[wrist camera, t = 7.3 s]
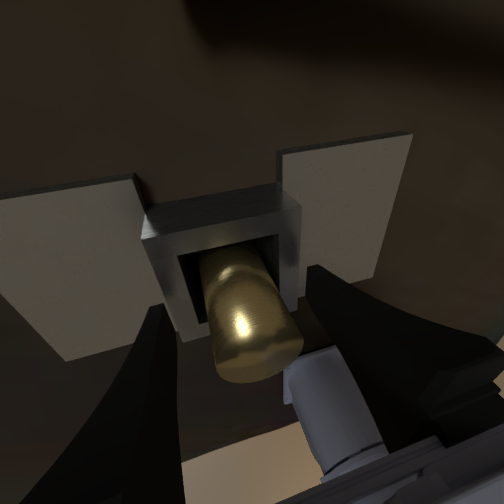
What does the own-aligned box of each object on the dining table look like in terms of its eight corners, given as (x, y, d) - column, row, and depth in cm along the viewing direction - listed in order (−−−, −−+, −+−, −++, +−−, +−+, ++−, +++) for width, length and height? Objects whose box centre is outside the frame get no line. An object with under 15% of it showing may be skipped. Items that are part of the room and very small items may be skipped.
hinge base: (364, 269, 21) (394, 298, 19) (70, 348, 17) (52, 400, 14) (400, 131, 15) (453, 142, 12) (-59, 202, 11) (-138, 245, 8)
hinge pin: (254, 260, 17) (304, 363, 11) (204, 276, 17) (227, 392, 11) (245, 216, 15) (301, 312, 9) (188, 232, 15) (204, 346, 8)
